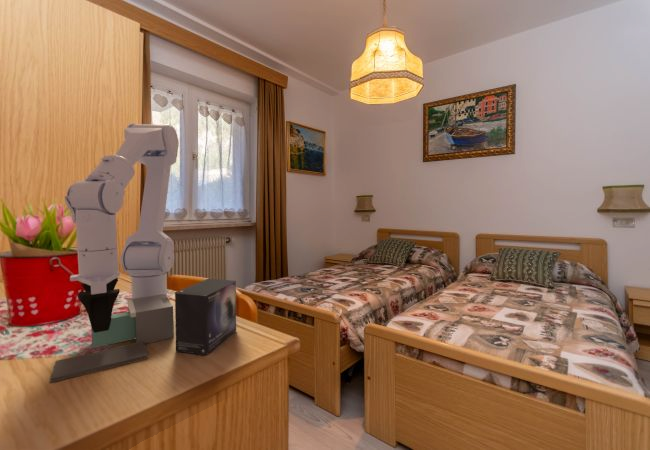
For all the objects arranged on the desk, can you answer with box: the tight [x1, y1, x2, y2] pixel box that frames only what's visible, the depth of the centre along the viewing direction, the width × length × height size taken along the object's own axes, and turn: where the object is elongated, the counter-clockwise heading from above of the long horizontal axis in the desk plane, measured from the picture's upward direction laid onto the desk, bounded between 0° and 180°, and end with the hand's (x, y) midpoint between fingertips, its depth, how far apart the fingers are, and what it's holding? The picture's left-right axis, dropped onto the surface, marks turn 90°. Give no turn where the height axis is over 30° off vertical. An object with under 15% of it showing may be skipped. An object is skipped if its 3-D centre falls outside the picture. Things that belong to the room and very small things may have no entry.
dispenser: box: [126, 294, 175, 345], centre depth 61 cm, size 10×7×6 cm
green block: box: [90, 311, 136, 349], centre depth 58 cm, size 2×10×5 cm, turn 125°
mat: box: [49, 341, 148, 383], centre depth 50 cm, size 6×12×1 cm, turn 125°
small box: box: [174, 277, 237, 356], centre depth 57 cm, size 11×6×10 cm, turn 168°
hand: (101, 323), depth 56 cm, fingers open, 7 cm apart
